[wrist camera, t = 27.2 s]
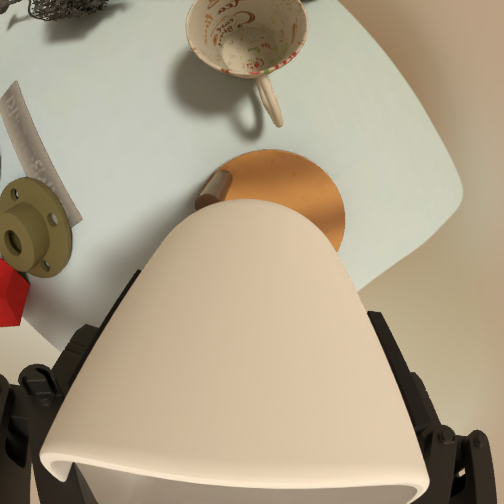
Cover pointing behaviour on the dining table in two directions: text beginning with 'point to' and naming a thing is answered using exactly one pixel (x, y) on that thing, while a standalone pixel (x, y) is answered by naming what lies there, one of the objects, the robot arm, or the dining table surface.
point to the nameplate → (33, 150)
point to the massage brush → (58, 8)
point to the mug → (248, 39)
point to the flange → (33, 229)
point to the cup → (239, 377)
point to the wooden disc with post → (280, 188)
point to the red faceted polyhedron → (11, 295)
